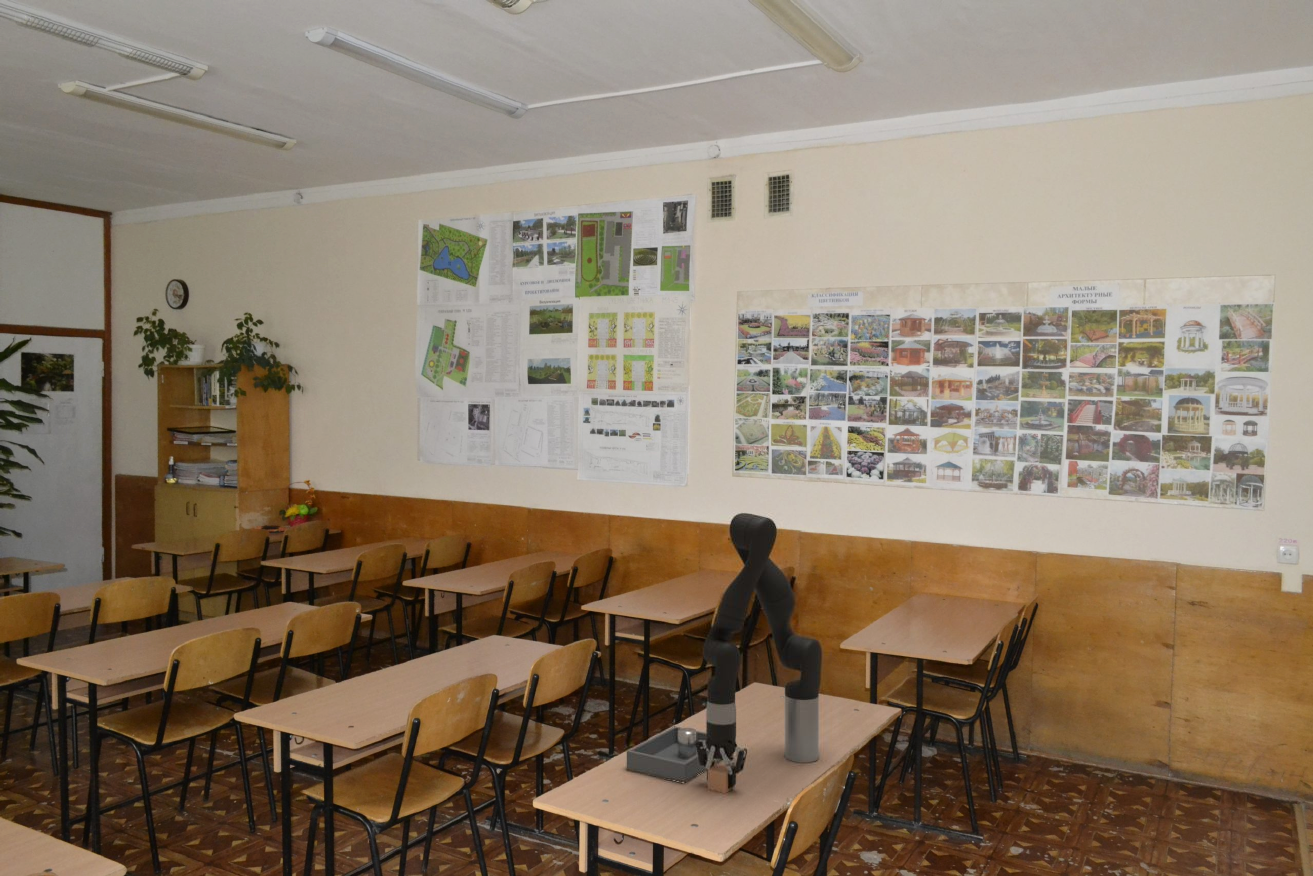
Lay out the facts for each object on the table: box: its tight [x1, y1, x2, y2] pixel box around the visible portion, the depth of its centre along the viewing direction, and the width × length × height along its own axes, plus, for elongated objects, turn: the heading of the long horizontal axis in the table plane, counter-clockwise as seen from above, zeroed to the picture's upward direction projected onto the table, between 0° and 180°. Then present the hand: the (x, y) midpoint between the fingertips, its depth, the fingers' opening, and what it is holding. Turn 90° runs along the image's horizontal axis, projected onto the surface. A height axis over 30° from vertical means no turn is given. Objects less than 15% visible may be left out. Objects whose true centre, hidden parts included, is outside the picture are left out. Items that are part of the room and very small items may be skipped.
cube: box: [707, 763, 736, 794], centre depth 239 cm, size 5×5×5 cm
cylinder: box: [678, 727, 697, 759], centre depth 259 cm, size 5×5×7 cm
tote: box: [626, 725, 723, 784], centre depth 256 cm, size 24×18×5 cm
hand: (721, 785), depth 239 cm, fingers closed on cube, 5 cm apart
